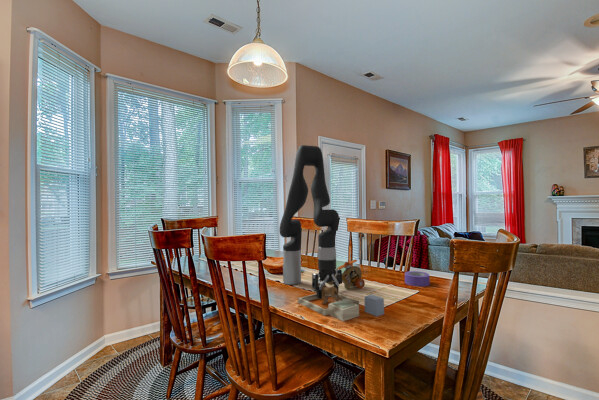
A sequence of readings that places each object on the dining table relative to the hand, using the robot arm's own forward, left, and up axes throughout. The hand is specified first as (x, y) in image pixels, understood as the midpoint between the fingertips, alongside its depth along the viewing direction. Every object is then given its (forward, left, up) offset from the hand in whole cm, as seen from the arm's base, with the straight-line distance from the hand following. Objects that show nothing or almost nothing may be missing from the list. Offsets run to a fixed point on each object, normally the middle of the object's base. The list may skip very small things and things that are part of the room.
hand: (327, 296), depth 124 cm
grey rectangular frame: (+4, 0, -3) cm, 5 cm away
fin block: (+18, +8, -3) cm, 20 cm away
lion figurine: (+1, 0, -3) cm, 3 cm away
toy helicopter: (-12, +21, -3) cm, 24 cm away
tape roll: (+3, +56, -4) cm, 56 cm away
